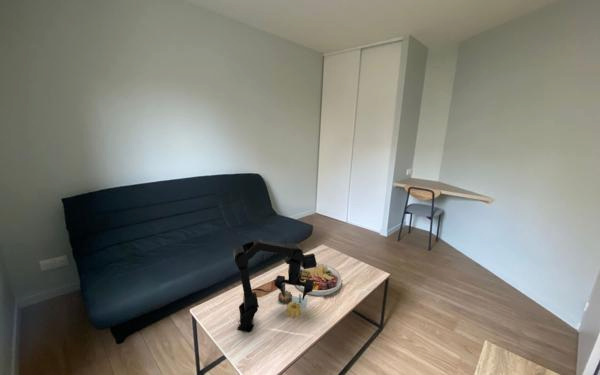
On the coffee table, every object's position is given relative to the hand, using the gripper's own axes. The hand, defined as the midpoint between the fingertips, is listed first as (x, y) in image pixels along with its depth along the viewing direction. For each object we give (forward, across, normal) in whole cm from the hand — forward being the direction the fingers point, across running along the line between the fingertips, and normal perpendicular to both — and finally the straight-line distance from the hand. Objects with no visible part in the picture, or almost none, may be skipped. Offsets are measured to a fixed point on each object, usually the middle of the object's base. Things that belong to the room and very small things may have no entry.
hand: (293, 298), depth 119 cm
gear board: (+9, +2, -9) cm, 13 cm away
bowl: (+10, -8, -30) cm, 33 cm away
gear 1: (+8, +6, -9) cm, 14 cm away
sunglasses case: (+10, +19, -14) cm, 26 cm away
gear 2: (+9, 0, 0) cm, 9 cm away
